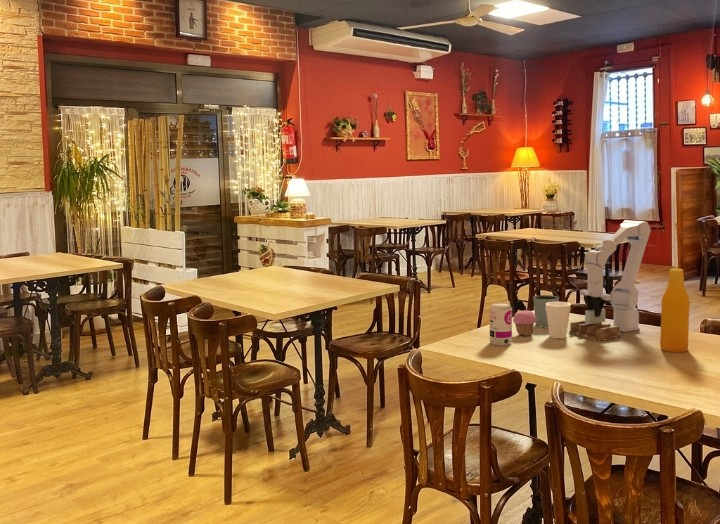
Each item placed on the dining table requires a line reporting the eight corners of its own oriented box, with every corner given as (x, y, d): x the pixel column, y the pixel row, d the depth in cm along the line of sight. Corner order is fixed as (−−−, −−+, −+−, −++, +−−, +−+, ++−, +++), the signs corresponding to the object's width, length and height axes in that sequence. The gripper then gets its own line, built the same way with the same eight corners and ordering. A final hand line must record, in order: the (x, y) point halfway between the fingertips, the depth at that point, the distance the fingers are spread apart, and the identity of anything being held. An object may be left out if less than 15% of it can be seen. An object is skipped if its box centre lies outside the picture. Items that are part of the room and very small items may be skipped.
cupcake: (539, 334, 286) (540, 309, 285) (529, 338, 280) (529, 313, 278) (519, 331, 292) (519, 307, 291) (509, 335, 286) (509, 310, 284)
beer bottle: (655, 350, 259) (658, 270, 255) (665, 344, 265) (668, 266, 261) (682, 354, 252) (685, 272, 248) (691, 348, 259) (694, 268, 255)
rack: (592, 330, 291) (592, 319, 291) (620, 337, 278) (620, 326, 277) (568, 333, 286) (569, 322, 286) (596, 341, 273) (596, 330, 272)
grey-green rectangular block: (600, 320, 284) (600, 308, 283) (605, 321, 282) (605, 309, 281) (585, 323, 281) (585, 310, 280) (589, 324, 278) (589, 311, 278)
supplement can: (515, 342, 274) (515, 304, 272) (504, 347, 268) (504, 307, 266) (497, 339, 279) (497, 301, 277) (485, 344, 274) (485, 305, 272)
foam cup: (568, 333, 286) (568, 301, 284) (572, 339, 277) (572, 306, 275) (543, 334, 287) (543, 301, 285) (547, 339, 278) (547, 306, 276)
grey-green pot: (560, 327, 297) (561, 299, 295) (536, 328, 297) (536, 299, 295) (554, 322, 307) (554, 294, 305) (530, 322, 307) (530, 295, 305)
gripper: (574, 279, 284) (573, 313, 286) (601, 284, 271) (600, 320, 273) (587, 278, 287) (587, 311, 289) (615, 283, 274) (614, 318, 276)
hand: (594, 315), depth 281 cm, fingers closed on grey-green rectangular block, 2 cm apart
